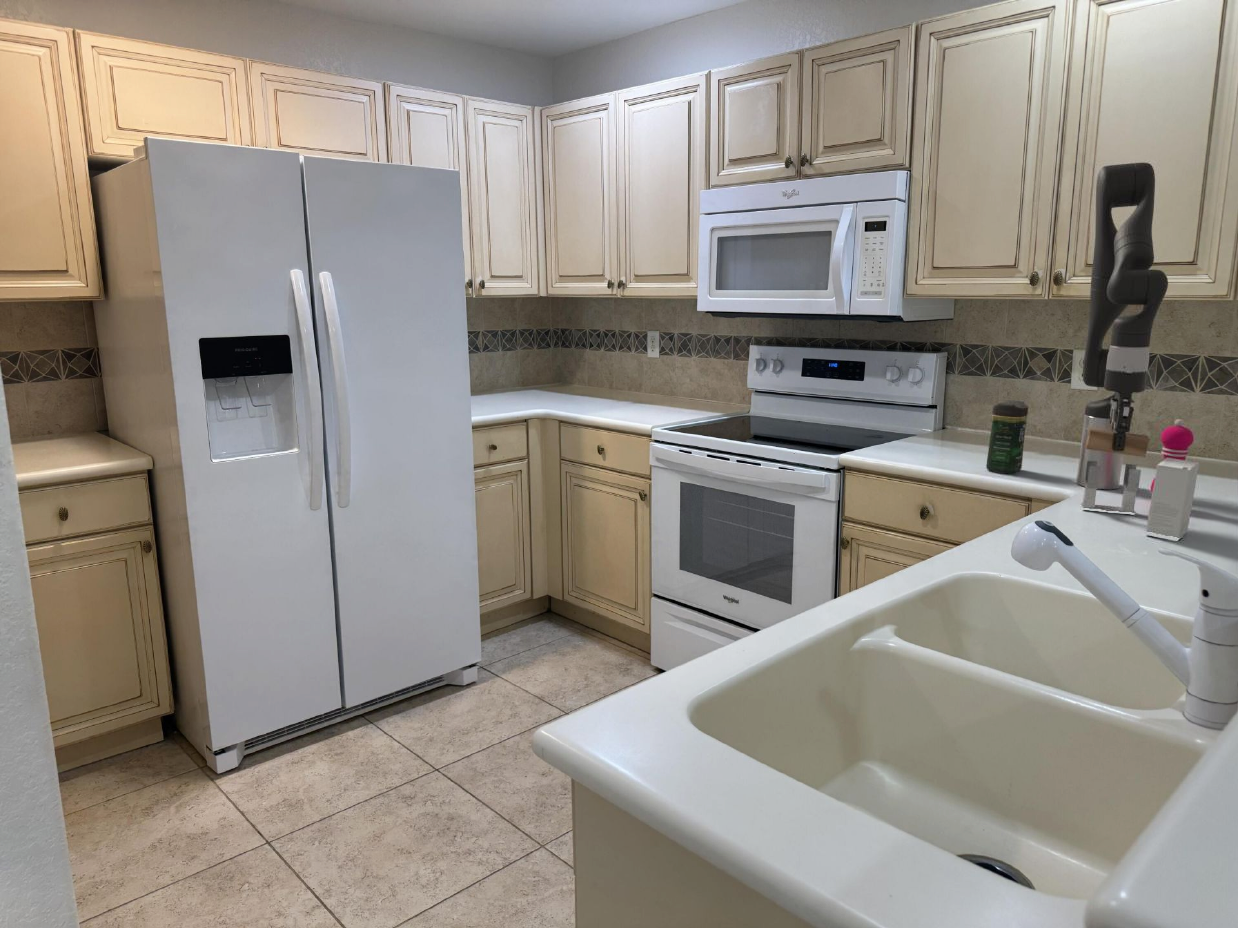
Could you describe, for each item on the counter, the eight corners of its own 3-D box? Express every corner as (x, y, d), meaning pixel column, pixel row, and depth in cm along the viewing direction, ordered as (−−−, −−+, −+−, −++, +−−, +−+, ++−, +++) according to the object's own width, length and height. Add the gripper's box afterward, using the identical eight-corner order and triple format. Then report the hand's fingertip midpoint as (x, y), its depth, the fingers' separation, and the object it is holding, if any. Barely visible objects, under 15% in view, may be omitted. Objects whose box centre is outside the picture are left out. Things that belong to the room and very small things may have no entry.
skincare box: (1154, 528, 176) (1164, 456, 173) (1189, 534, 172) (1200, 461, 169) (1144, 536, 170) (1154, 463, 167) (1180, 543, 166) (1191, 467, 163)
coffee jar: (1013, 475, 222) (1020, 404, 218) (982, 471, 227) (988, 401, 224) (1025, 469, 229) (1033, 400, 225) (995, 465, 234) (1001, 397, 231)
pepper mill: (1150, 502, 196) (1163, 415, 192) (1188, 507, 192) (1201, 419, 188) (1145, 508, 191) (1157, 419, 187) (1183, 514, 186) (1197, 423, 182)
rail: (1084, 445, 187) (1088, 427, 186) (1142, 453, 183) (1146, 435, 182) (1086, 449, 184) (1090, 430, 183) (1145, 457, 180) (1149, 438, 179)
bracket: (1080, 505, 194) (1085, 460, 191) (1131, 510, 190) (1137, 464, 187) (1083, 512, 187) (1088, 466, 185) (1135, 517, 184) (1142, 470, 181)
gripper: (1102, 363, 187) (1093, 441, 191) (1110, 371, 174) (1100, 454, 178) (1142, 364, 184) (1132, 443, 188) (1153, 372, 172) (1142, 457, 176)
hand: (1116, 448), depth 183 cm, fingers closed on rail, 3 cm apart
